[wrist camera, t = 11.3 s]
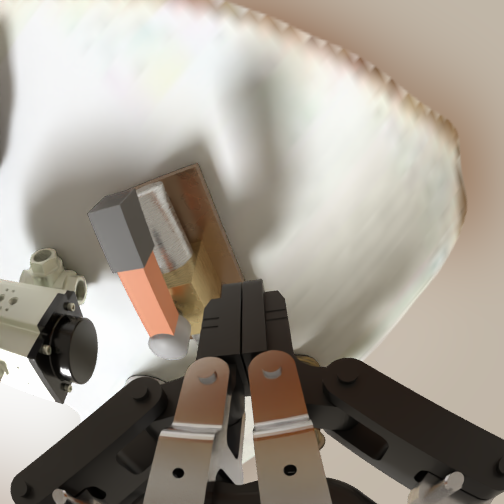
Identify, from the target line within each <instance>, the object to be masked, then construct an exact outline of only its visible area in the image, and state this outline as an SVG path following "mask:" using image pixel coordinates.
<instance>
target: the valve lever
mask: <svg viewBox="0 0 504 504" xmlns="http://www.w3.org/2000/svg"><path fill="white" fill-rule="evenodd" d="M87 214H88V217H89V219H90V222H91V224H92V226H93V229H94V231H95V234H96V236H97V239H98V241H99V243H100V246H101V248H102V250H103V252H104V255H105V257H106V259H107V261H108V263H109V266H110V268H111V270H112V272H113V273H118V275H119V278H120V280H121V282H122V284H123V286H124V288H125V290H126V292H127V294H128V296H129V298H130V300H131V302H132V304H133V306H134V308H135V310H136V312H137V314H138V316H139V317H140V319H141V321H142V323H143V325H144V327H145V329H146V330H147V332H148V334H149V336H150V338H149V341H148V345H149V348H150V350H151V351H152V352H153V353H154V354H156V355H157V356H159V357H161V358H164V359H168V360H178V359H181V358H183V357H185V356H186V354H187V351H188V346H189V340H190V334H191V325H190V323H189V321H188V320H187V319H186V318H184V317H183V316H181V315H179V313H178V311H177V309H176V307H175V304H174V302H173V300H172V297H171V295H170V292H169V290H168V288H167V285H166V283H165V280H164V278H163V275H162V273H161V270H160V268H159V265H158V263H157V260H156V258H155V255H154V252H153V249H154V247H155V245H154V242H153V239H152V236H151V234H150V231H149V228H148V225H147V222H146V219H145V217H144V214H143V211H142V208H141V205H140V202H139V199H138V196H137V193H136V190H135V188H134V189H131V190H127V191H123V192H120V193H116V194H113V195H109V196H105V197H104V198H103V199H102V200H101V201H100V202H99V203H98V204H97V205H96V206H95V207H94V208H93V209H92V210H91V211H89V212H88V213H87Z"/></svg>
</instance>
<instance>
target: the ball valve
mask: <svg viewBox="0 0 504 504" xmlns="http://www.w3.org/2000/svg"><path fill="white" fill-rule="evenodd" d="M30 265H31V266H30V269H29V270H23V272H22V274H21V277H20V280H19V282H13V281H8V280H3V279H0V382H3V383H5V384H8V385H10V386H13V387H15V388H18V389H20V390H23V391H26V392H28V393H31V394H34V395H37V396H40V397H42V398H46V399H49V400H52V401H55V402H58V403H61V404H63V403H64V400H65V398H66V395H67V393H68V392H71V391H72V386H71V383H72V382H73V383H77V384H85V383H86V382H87V381H88V380H89V379H90V378H91V376H92V374H93V372H94V369H95V365H96V360H97V352H98V342H97V334H96V330H95V327H94V325H93V323H92V322H91V321H90V320H89V319H88V318H83V316H82V313H81V310H80V307H79V305H82V304H83V303H84V301H85V299H86V295H87V283H86V280H85V278H84V276H80V275H77V273H76V272H75V271H71V270H64V267H63V263H62V260H61V258H60V257H58V256H57V254H56V250H55V249H51V248H44V249H41V250H38V251H36V252H35V253H34V254H32V255H31V258H30Z"/></svg>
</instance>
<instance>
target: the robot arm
mask: <svg viewBox="0 0 504 504" xmlns="http://www.w3.org/2000/svg"><path fill="white" fill-rule="evenodd" d="M245 396H251V401H252V410H253V419H254V429H253V441H254V450H255V458H256V467H257V475H258V481H254V482H251V483H247V484H243V469H242V452H243V440H244V429H245V417H246V416H245ZM314 428H320V429H324V431H325V432H326V433H327V434H329V435H330V436H331V437H333V438H334V439H336V440H337V441H338V442H340V443H341V444H342V445H344V446H345V447H347V448H348V449H350V450H351V451H352V452H354V453H355V454H356V455H358V456H359V457H361V458H362V459H364V460H365V461H367V462H368V463H370V464H371V465H373V466H374V467H376V468H377V469H379V470H380V471H382V472H383V473H385V474H386V475H388V476H389V477H391V478H393V479H394V480H396V481H397V482H399V483H401V484H403V485H404V486H405V487H407V488H409V489H410V490H411V491H410V493H409V496H408V501H407V502H408V504H490V503H491V502H492V500H493V499H494V497H496V496H497V495H499V494H500V493H502V492H504V440H503V439H501V438H499V437H497V436H495V435H494V434H491V433H490V432H488V431H486V430H484V429H482V428H480V427H478V426H476V425H474V424H472V423H470V422H469V421H467V420H465V419H463V418H461V417H459V416H457V415H455V414H454V413H452V412H450V411H448V410H446V409H444V408H442V407H441V406H439V405H437V404H435V403H434V402H432V401H430V400H428V399H426V398H424V397H423V396H421V395H419V394H417V393H415V392H414V391H412V390H410V389H409V388H407V387H405V386H403V385H401V384H400V383H398V382H396V381H394V380H393V379H391V378H389V377H388V376H386V375H384V374H382V373H381V372H379V371H377V370H376V369H374V368H372V367H371V366H368V365H367V364H365V363H364V362H362V361H360V360H357V359H354V358H342V359H338V360H336V361H334V362H332V363H331V364H329V365H328V367H317V366H311V365H307V364H305V363H303V362H301V361H300V360H299V359H298V358H297V357H296V356H295V354H294V352H293V348H292V342H291V335H290V329H289V322H288V316H287V310H286V303H285V298H284V297H283V296H282V295H281V294H280V293H279V291H278V290H277V291H270V292H264V286H263V280H262V279H259V280H252V281H245V282H243V283H242V282H238V283H230V284H223V285H222V294H221V298H217V299H211V300H210V301H209V303H208V304H207V305H206V307H205V308H204V313H203V321H202V325H201V331H200V338H199V344H198V351H197V358H196V361H195V362H193V363H192V364H191V365H190V366H189V367H188V369H187V370H186V373H185V376H183V377H181V378H179V379H177V380H174V381H171V382H167V383H165V382H163V381H161V380H159V379H156V378H153V377H148V376H133V377H130V378H129V379H128V380H127V381H126V383H125V387H123V388H122V389H121V390H120V391H119V392H117V393H116V394H115V395H114V396H113V397H112V398H110V399H109V400H108V401H107V402H106V403H104V404H103V405H102V406H101V407H100V408H98V409H97V410H96V411H95V412H94V413H92V414H91V415H90V416H89V417H88V418H86V419H85V420H84V421H83V422H82V423H80V424H79V425H78V426H77V427H76V428H75V429H73V430H72V431H71V432H69V433H68V434H67V435H66V436H65V437H64V438H62V439H61V440H60V441H58V442H57V443H56V444H55V445H54V446H52V447H51V448H50V449H49V450H47V451H46V452H45V453H44V454H42V455H41V456H40V457H39V458H37V459H36V460H35V461H34V462H32V463H31V464H30V465H29V466H27V467H26V468H25V469H24V470H22V471H21V472H20V473H19V474H17V475H16V476H15V477H14V479H13V481H12V483H11V496H12V499H13V501H14V502H15V504H377V503H375V502H374V501H373V500H371V499H370V498H369V497H367V496H366V495H364V494H363V493H362V492H361V491H359V490H358V489H356V488H355V487H353V486H351V485H349V484H347V483H345V482H342V481H339V480H336V479H332V478H326V476H325V472H324V468H323V464H322V459H321V455H320V452H319V447H318V443H317V439H316V435H315V431H314Z"/></svg>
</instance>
